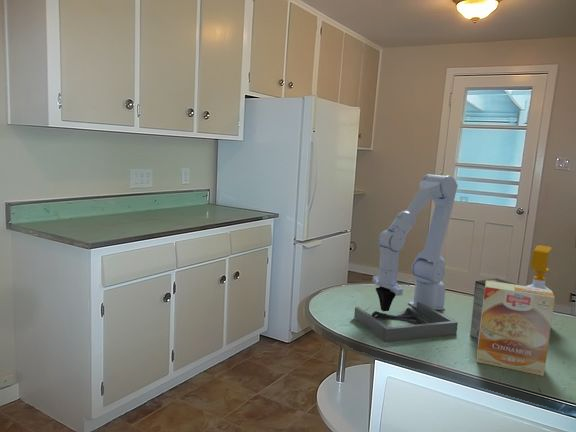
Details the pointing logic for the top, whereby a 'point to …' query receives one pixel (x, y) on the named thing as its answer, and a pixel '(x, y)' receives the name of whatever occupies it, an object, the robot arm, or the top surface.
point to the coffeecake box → (515, 327)
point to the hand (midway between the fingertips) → (384, 310)
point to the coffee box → (479, 305)
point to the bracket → (400, 317)
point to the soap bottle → (540, 266)
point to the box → (437, 328)
